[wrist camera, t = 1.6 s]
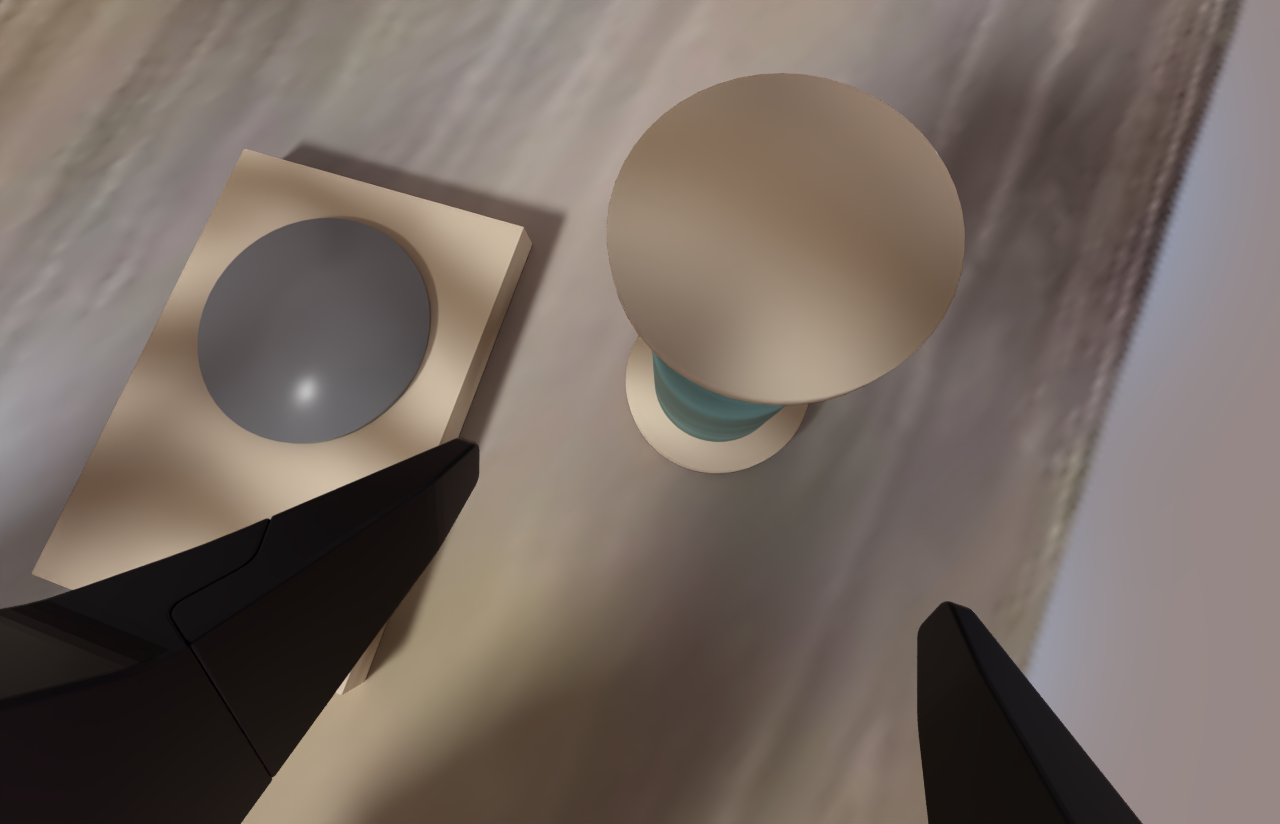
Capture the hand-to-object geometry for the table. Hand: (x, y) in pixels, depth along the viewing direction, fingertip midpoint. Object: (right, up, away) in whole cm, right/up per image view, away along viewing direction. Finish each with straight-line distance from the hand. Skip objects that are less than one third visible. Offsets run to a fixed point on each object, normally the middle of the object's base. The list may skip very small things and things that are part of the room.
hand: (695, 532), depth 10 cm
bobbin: (+2, +3, +13) cm, 13 cm away
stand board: (-16, +3, +13) cm, 21 cm away
